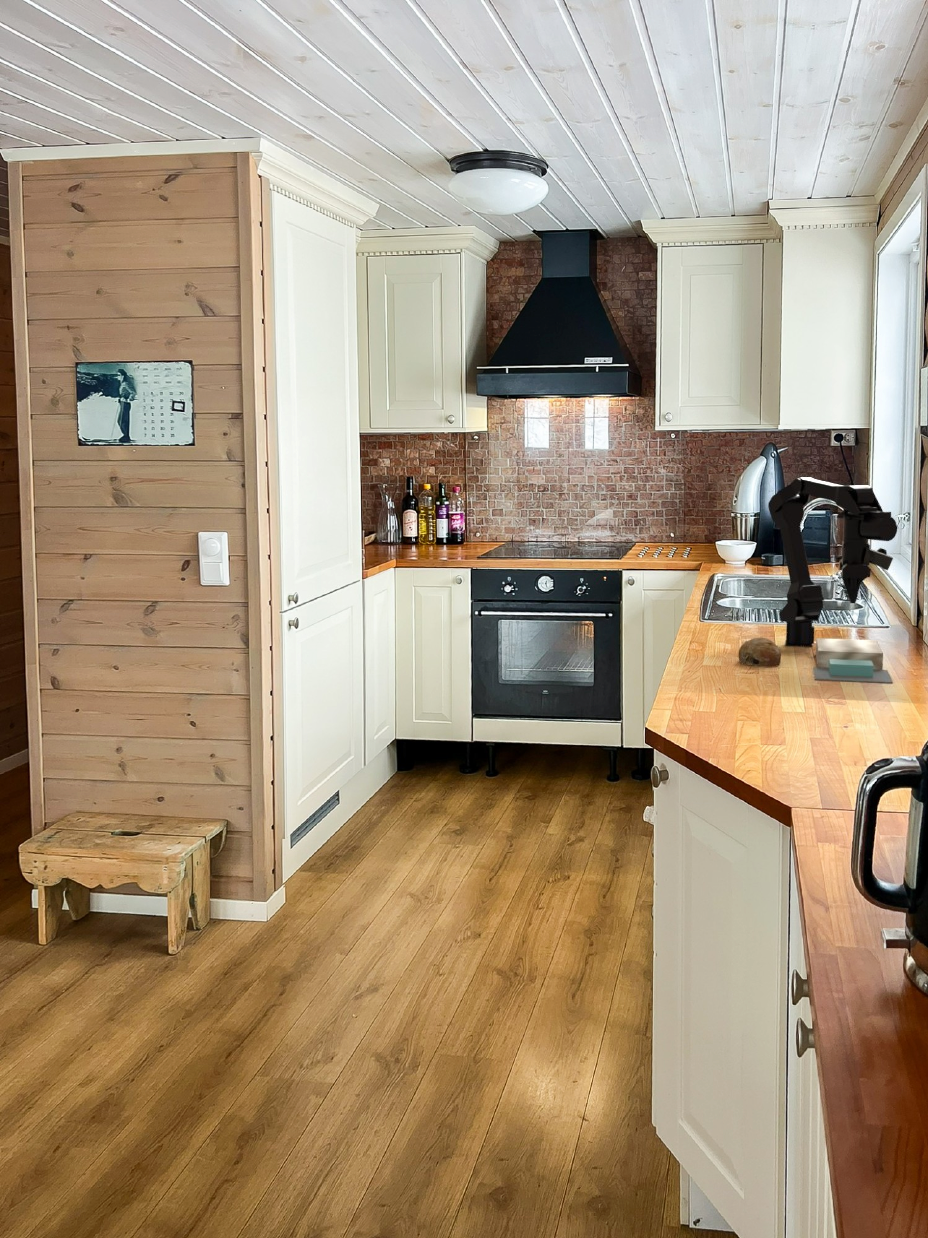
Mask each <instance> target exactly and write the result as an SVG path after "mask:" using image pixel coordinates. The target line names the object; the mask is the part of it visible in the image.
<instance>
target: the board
mask: <svg viewBox="0 0 928 1238" xmlns="http://www.w3.org/2000/svg"><path fill="white" fill-rule="evenodd" d="M815 645H816V646H815V647H816V648H815V649H816V650H815V657H816V663H817V667H828V668H829V659H838V660H863V661H872V663H873V669H876V670H883V669H884V668H883V665H884V652H883V649H882V648H881V646H880V644H879V641H878V640H876V639H874V640H873V639H853V638H852V639H848V638H847V639H846V638H823V637H822V638H819V637H817V638H816V643H815Z"/></svg>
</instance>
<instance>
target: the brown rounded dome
mask: <svg viewBox="0 0 928 1238" xmlns="http://www.w3.org/2000/svg"><path fill="white" fill-rule="evenodd" d="M737 653H738V654H737V655H738V660H739V662H740V663H741V664H742V663H743V664H742V665H744V664H746V665H745V666H747V665H750V666H751V665H752V666H751V667H764V666H766V667H767V668H768V667H771V668H772V666H773V667H778V666H780V665H781V658H782V651H781V648H780V647H779V645H777V644H776V643H775V642H774V641H772V640H771V639H769V638H768V637H767V638H765V637H761V636H760V637H754V638H751V639H749V640H746V641H745V642H744V643H742V644H741V646H740V647H739V650H738V652H737ZM750 666H749V667H750ZM766 667H765V668H766Z"/></svg>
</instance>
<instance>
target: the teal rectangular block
mask: <svg viewBox="0 0 928 1238" xmlns="http://www.w3.org/2000/svg"><path fill="white" fill-rule="evenodd" d="M829 672H830V675H840V676H863V677H873V663H872V661H863V660H838V659H829Z"/></svg>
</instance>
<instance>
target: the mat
mask: <svg viewBox="0 0 928 1238" xmlns="http://www.w3.org/2000/svg"><path fill="white" fill-rule="evenodd" d="M812 670H813V675H814V681H825V682H826V681H830V682H846V683H847V682H850V683H851V682H852V683H870V684H871V683H873V684H875V683H876V684H892V683H893V680H892V677H891V675H890V672H889V671H888V669H882V670H876V669H873V677H863V676H840V675H830V672H829V668H828V667H818V666H813V669H812Z"/></svg>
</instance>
